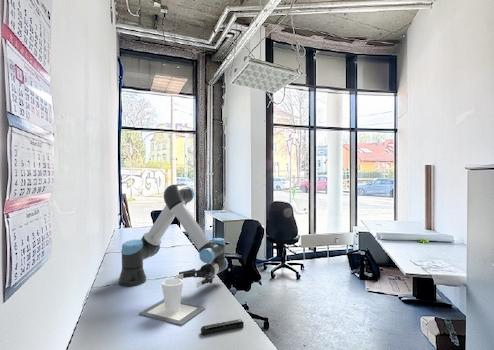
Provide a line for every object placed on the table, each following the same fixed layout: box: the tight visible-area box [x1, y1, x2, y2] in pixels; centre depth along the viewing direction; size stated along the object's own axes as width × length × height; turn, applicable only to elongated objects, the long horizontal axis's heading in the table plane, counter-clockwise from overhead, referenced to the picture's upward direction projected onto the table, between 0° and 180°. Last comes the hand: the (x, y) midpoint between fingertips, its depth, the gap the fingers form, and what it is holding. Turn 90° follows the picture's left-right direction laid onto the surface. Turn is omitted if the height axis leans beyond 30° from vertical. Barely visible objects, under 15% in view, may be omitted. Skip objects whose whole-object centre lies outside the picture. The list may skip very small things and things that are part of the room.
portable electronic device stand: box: [200, 318, 245, 336], centre depth 131 cm, size 18×3×3 cm, turn 113°
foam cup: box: [161, 278, 184, 313], centre depth 147 cm, size 10×9×13 cm
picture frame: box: [138, 299, 206, 327], centre depth 147 cm, size 24×18×1 cm
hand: (185, 282), depth 156 cm, fingers open, 13 cm apart
